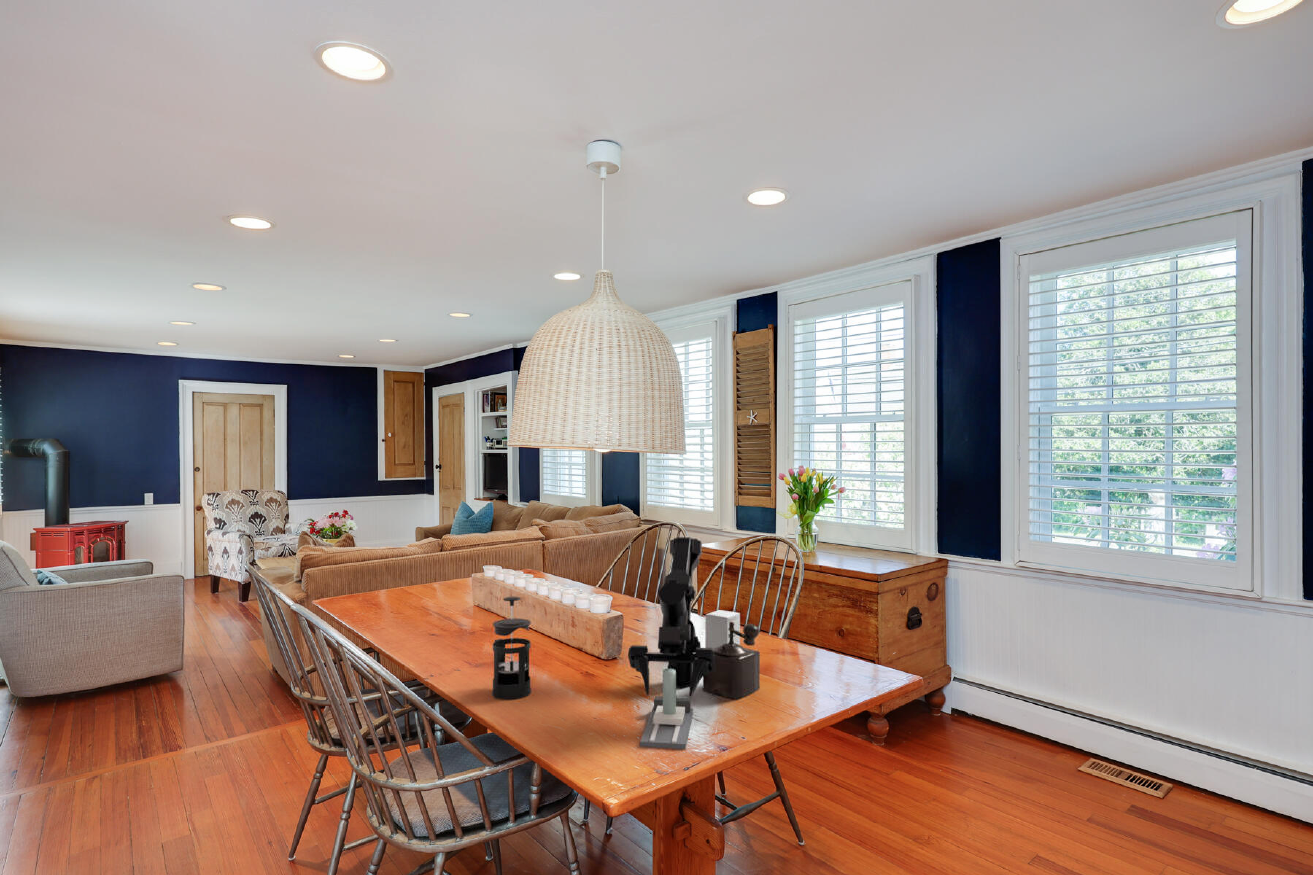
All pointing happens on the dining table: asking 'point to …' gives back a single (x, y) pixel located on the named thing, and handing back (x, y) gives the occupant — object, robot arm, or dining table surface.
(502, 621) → the french press
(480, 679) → the dining table surface
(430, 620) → the dining table surface
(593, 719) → the dining table surface
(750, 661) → the manual coffee grinder
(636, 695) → the dining table surface
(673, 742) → the rail track
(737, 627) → the supplement box
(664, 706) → the carriage
